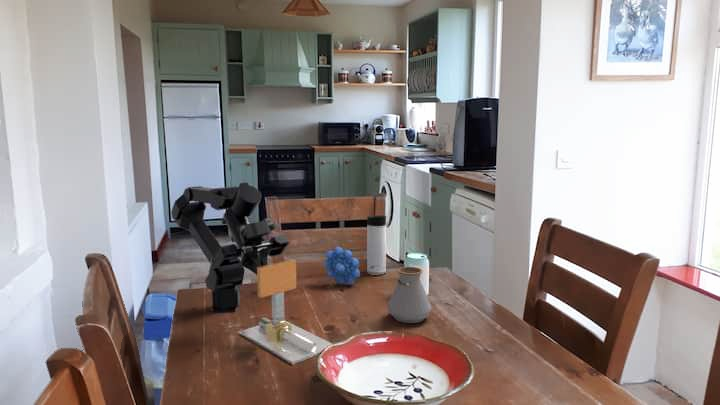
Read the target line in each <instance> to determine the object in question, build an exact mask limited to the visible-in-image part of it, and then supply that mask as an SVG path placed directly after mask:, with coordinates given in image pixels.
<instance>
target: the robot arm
mask: <svg viewBox="0 0 720 405" xmlns="http://www.w3.org/2000/svg"><path fill="white" fill-rule="evenodd" d="M261 200H262V192H261V191H260V190H258V188H256V187H254V186H252V185H249V182H248V181H247V182H240V183H239V185H238V186H236V185H235V186H234V185H233V186H225V187H216V188H215V187H213V188H211V187H205V186H201V185H200V186H188V187H187V188H185V189H184V191H183V194H181V195H180V196H179V197H178V198H177V199H176V200H175V201H174V203H173V206H172V208H171V218H172V220H173V221H174V222H175V223H176V224H177V225H178V227H180V228H181V229H184V230H186V231H188V232H189V234H191V236H192V237H193V240H194V241H195V242H196V243H197V246H198V247H199V248H200V250H201V252H202V253H203V254H204V256H205V257H206V259H207V261H208V263H209V269H208V274H207V275H206V276H207V277H205V279H204V282H205V287H206V289H209V290H210V291H211V296H212V300H211V301H212V308H211V310H210V312H211V313H213V312H214V313H217V312H218V313H219V312H221V313H222V312H224V313H225V312H236V310H237V309H238V307H239V306H240V303H241V300H240V298H241V296H240V290H239V289H238V286H242V285H243V282H244V277H245V272H246V271H245V268H246V269H247V270H249V271H250V272H252V273H253V274H254V275H256V276H257V267H260V266H264V265H268V256H269V257H270V258H272V257H276V256H280V255H282V254H283V253H284V251H285V250H286V248H287V247H288V246H289V244H290V241H289V239H288V237H287V236H286V235H283V234H281V235H275V236H272V237H271V238H270V239H269V241H268V242H267V243H263V242H265V240H266V236H267V235H270V234H272V231H274V230H276V226H275V222H274V220H273V218H271V217H267V218H266V217H265V218H264V219H263V220H261V221H255V222H252V221H251V219H250V217H251V216H253V214H254V212H255V211H256V209H257V207H258V206H259V204H260V202H261ZM206 204H209V205H210V207H211V208H213V210H216V211H223V210H226V211H225V212H224V213H223V217H222V219H221V224H222V225H226V226H227V228H228V230H229V232H230V234H231V238H230V241H231V242H232V244H226V245H221V244H220V243H219V241H218V239H217V238H216V237H215V235H214V234H213V233H212V231H211V229H210V227H208V226H209V225H207V224H206V222H205V220H204V217H205V211H206V209H207V206H206ZM234 243H235V244H234Z"/></svg>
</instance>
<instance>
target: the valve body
mask: <svg viewBox="0 0 720 405" xmlns="http://www.w3.org/2000/svg"><path fill="white" fill-rule="evenodd" d="M239 335H241V336H243V337H245V338H246V339H248V340H250V341H251V342H253V343H255V344H257V345H258V346H259V347H262V348H264V349H265V350H267V351H269V352H270V353H272V354H274V355H275V356H277V357H279V358H280V359H282V360H284V361H285V362H287V363H289V364H291V365H295V364H297V363H301V362H303V361H306V360H308V359H311V358H314V357H315V356H319V355H320V354H319V353H320V352H321V351H322V350H323V349H324V348H326V347H327V346H329V345H332V344H333V343H331V342H329V341H327V340H325V339H324V338H321V337H319V336H317V335H315V334H313V333H312V332H309V331H307V330H305V329H303V328H301V327H299V326H297V325H296V324H293V323H292V322H288V321H286V320H285V322H283V323H280V324H277V325H273V324H272V319H271V320H270V319H269V318H266V317H261V318H260V319H259V321H258V325H256V326H252V327H248V328H246V329H243V330H239ZM318 354H319V355H318Z"/></svg>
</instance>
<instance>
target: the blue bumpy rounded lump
mask: <svg viewBox="0 0 720 405" xmlns="http://www.w3.org/2000/svg"><path fill="white" fill-rule="evenodd" d="M325 256H326V258H327V259H324V260H323V265H324V268H326V269H327V275H328V277H329V278H330V279H336V282H337V283H338V284H339V285H345V284H346V283H347V284H349V285H353V284H355V281H356V279H357V278H360V276H361V271H360V270H359V267H360V261H359V260H358V259H357V258H355V257H353V256H354V255H353V253H352V252H351V250H348V249H345V250H343V249H342V248H341V247H339V246H335V247H334V248H333V250H330V249H329V250H328V251H326V253H325Z"/></svg>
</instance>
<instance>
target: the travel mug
mask: <svg viewBox="0 0 720 405" xmlns="http://www.w3.org/2000/svg"><path fill="white" fill-rule="evenodd" d="M366 226H367V227H366V231H367V232H366V238H367V240H366V243H367V244H366V252H367V253H366V263H367V264H366V267H367V268H366V269H367V270H366V273H367V274H368V275H369V274H384V273H385V272H386V273H387V269H386V268H387V215H383V214H381V215H379V214H378V215H374V216H369V215H368V216H367V225H366ZM386 273H385V274H386ZM385 274H384V275H385Z"/></svg>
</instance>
